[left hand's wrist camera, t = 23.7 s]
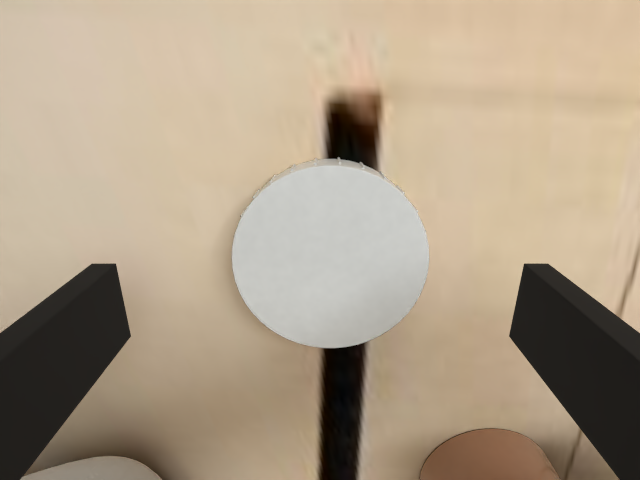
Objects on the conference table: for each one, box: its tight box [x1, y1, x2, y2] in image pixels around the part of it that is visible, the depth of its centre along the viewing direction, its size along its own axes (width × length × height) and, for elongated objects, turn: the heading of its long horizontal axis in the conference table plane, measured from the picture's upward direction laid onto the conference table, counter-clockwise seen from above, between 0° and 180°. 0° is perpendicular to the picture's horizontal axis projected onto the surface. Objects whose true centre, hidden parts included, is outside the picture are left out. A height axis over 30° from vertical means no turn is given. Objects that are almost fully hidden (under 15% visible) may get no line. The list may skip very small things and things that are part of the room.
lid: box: [232, 158, 429, 348], centre depth 19 cm, size 9×9×2 cm
